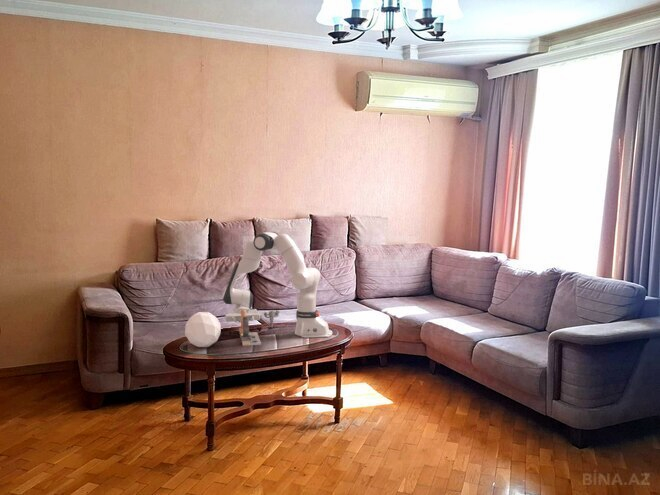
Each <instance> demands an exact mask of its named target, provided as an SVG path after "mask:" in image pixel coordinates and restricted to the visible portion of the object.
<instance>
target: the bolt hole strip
mask: <svg viewBox="0 0 660 495" xmlns="http://www.w3.org/2000/svg"><path fill="white" fill-rule="evenodd" d="M249 335H250V336H251V341H250V346H261V345H262V341H261V339H260V336H259V333H258V332H255V331H254V332H251V331H250V332H249Z"/></svg>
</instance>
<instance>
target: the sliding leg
mask: <svg viewBox="0 0 660 495" xmlns="http://www.w3.org/2000/svg"><path fill="white" fill-rule="evenodd" d="M244 316H246V310H241V322H240V327H238V333H239V334H240V333H243V317H244Z"/></svg>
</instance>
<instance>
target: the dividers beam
mask: <svg viewBox="0 0 660 495" xmlns="http://www.w3.org/2000/svg"><path fill="white" fill-rule="evenodd" d="M249 330H250V329H249V321H248V316H244V317H243V333H240V332H239V337H240V340H241V343H242V346H244V347H248V346H250V347H251V345H250V341H251V336H250V335H249V333H250V332H249Z"/></svg>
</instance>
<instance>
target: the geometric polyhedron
mask: <svg viewBox="0 0 660 495" xmlns="http://www.w3.org/2000/svg"><path fill="white" fill-rule="evenodd" d="M221 328H222V324H221V323H220V320H219V319H218V318H217V317H216V316H215V315H213V314H212V313H211V312H209V311H207V312H205V311H198V312H196V313H194V314H193V315H191V316H190V317H189V318H188V320H187V321H186V324H185V328H184V330H185V331H184V335H185V337H186V338H187V340H188V342H189V343H190V344H192V345H194V346H195V347H196V348H209V347H210V346H212V345H213V344H215V343H216V342H217V341H218V340H219V338H220V336H221Z"/></svg>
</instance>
